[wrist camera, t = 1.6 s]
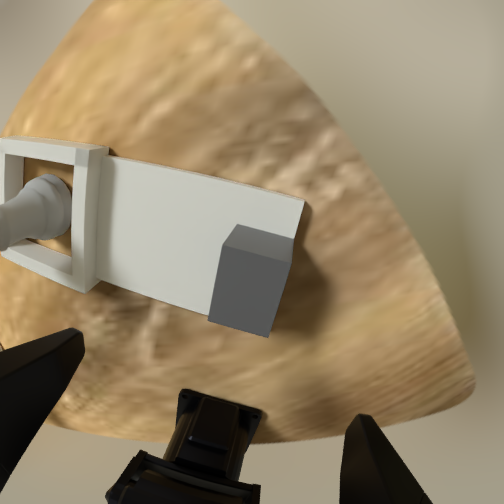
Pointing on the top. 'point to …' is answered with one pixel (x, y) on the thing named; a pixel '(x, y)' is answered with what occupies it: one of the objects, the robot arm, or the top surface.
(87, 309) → the top surface
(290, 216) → the grey board with frame
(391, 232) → the top surface
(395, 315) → the top surface
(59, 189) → the rook chess piece
